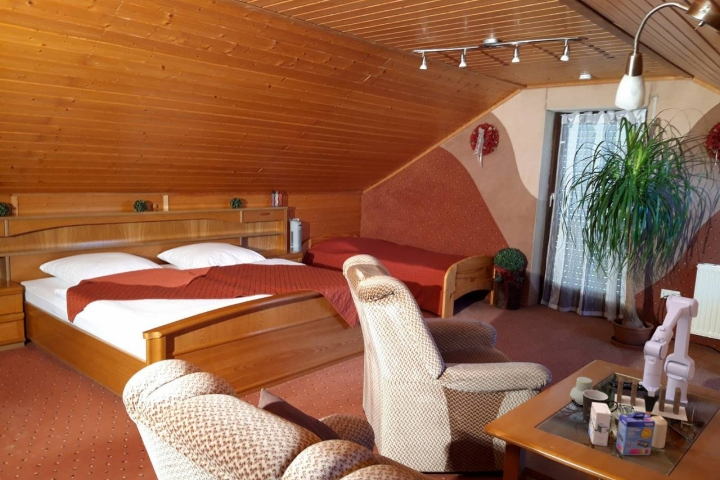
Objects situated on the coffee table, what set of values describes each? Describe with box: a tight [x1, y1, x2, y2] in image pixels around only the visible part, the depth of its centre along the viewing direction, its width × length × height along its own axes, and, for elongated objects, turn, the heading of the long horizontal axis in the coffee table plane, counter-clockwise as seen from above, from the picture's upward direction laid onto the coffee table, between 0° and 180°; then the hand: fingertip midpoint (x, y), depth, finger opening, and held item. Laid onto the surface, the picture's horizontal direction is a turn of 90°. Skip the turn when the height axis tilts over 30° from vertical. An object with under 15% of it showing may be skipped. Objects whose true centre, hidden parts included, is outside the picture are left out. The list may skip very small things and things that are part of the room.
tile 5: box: [616, 376, 624, 404], centre depth 228 cm, size 2×5×9 cm, turn 155°
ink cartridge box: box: [615, 412, 655, 456], centre depth 190 cm, size 10×6×14 cm, turn 95°
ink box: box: [587, 402, 612, 447], centre depth 198 cm, size 9×5×12 cm, turn 168°
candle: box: [650, 415, 668, 449], centre depth 196 cm, size 6×6×10 cm
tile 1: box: [672, 387, 681, 415], centre depth 220 cm, size 2×5×9 cm, turn 155°
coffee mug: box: [582, 389, 619, 424], centre depth 211 cm, size 12×9×10 cm
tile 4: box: [630, 379, 638, 406], centre depth 226 cm, size 2×5×9 cm, turn 155°
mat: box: [613, 393, 688, 422], centre depth 225 cm, size 13×25×1 cm, turn 65°
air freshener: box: [569, 376, 594, 406], centre depth 226 cm, size 11×8×10 cm
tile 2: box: [658, 383, 667, 412], centre depth 222 cm, size 2×5×9 cm, turn 155°
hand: (648, 407), depth 215 cm, fingers open, 7 cm apart
